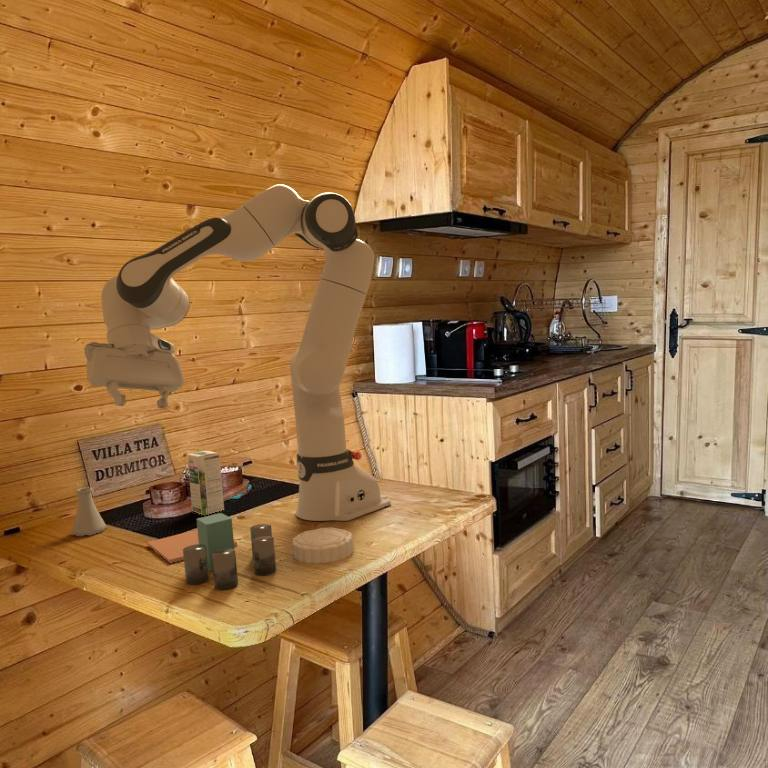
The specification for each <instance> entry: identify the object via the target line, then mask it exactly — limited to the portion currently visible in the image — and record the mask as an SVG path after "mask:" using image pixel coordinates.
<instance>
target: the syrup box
mask: <svg viewBox="0 0 768 768" xmlns="http://www.w3.org/2000/svg"><path fill="white" fill-rule="evenodd" d="M187 465H188V476H189V486H190V487H189V489H190V500H191V509H192V508H193V511H194V512H196V513H198V514H197V515H200V514H201V515H200V516H203V515H204V516H203V517H206V515H208V516H210V515H209V514H211V515H213V514H212V513H214V514H216V513H215V512H217V513H220V512H223V511H225V503H224V500H223V493H224V491H223V478H222V466H221V454H220V452H216V451H215V452H214V451H209V450H200V451H199V450H198V451H194V452H191V453H189V454H187ZM222 510H223V511H222ZM219 511H220V512H219ZM196 513H195V514H196Z"/></svg>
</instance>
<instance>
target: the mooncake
mask: <svg viewBox="0 0 768 768" xmlns="http://www.w3.org/2000/svg"><path fill="white" fill-rule="evenodd" d="M354 545H355V542H354V535H353V534H352V533H351V532H350V531H348V530H346V529H343V528H342V529H341V528H336V527H331V526H330V527H319V528H316V529H310V530H305V531H303V532H300V533H298V534H297V535H296V536H295V537H293V538H292V540H291V551H292V552H291V553H292V557H293V559H294V560H297V561H298V562H302V563H303V562H304V563H305V564H313V565H314V564H316V565H317V564H328V563H330V562H331V563H334V562H335V563H336V562H338V561H340V560H344V559H345V558H347V557H350V556H351V554H352V553H354V551H355V546H354Z"/></svg>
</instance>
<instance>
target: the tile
mask: <svg viewBox="0 0 768 768" xmlns="http://www.w3.org/2000/svg"><path fill="white" fill-rule="evenodd" d="M197 544H199V540H198V530H197V529H196V530H191V531H186V532H183V533H179V534H174V535H170V536H167V537H162V538H159V539H155V540H150V541H147V542H146V545H149V546H150V547H151V548H152V549H154V550H155V551H156V552H157V553H158V554H160V555H161V556H162V557H163V558H164V559H166V560H167V561H168V562H169V563H171V564H174V563H173V562H175V563H178V562H177V561H179V562H182V561H184V556H183V549H184V548H185V547H187V546H191V545H197ZM237 546H238V542H237V541H236V540H234V547H237ZM151 548H150V549H151ZM152 549H151V550H152ZM156 552H155V553H156ZM157 553H156V554H157ZM158 554H157V555H158ZM161 556H160V557H161ZM162 557H161V558H162ZM163 558H162V559H163ZM164 559H163V560H164ZM166 560H165V561H166ZM181 560H182V561H181ZM167 561H166V562H167ZM168 562H167V563H168ZM169 563H168V564H169Z"/></svg>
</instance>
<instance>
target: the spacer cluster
mask: <svg viewBox="0 0 768 768" xmlns="http://www.w3.org/2000/svg"><path fill="white" fill-rule="evenodd" d="M249 529H250V530H249V531H250V541H251V551H252V552H251V554H252V563H253V564H252V565H253V573H254V575H256V576H259V577H262V576H270V575H272V574H274V573H276V572H277V565H276V564H277V562H276V551H275V538H274V537H273V532H272V525H271V524H269V523H260V524H254V525H252V526H250V528H249ZM234 549H235V548H234ZM234 549H229V548H227V549H220V550H216V551H214V552H213V553H212V562H213V571H212V572H213V580H214V581H213V583H214V588H215V589H216V590H217V591H227V590H232V589H234V588H236V587H237V586H238V585H239V578H238V569H237V558H236V557H237V556H236V550H234ZM183 556H184V560H183V563H184V565H183V566H184V575H185V583H186V585H191V586H196V585H201V584H204V583H207V582H208V581H209V579H210V576H209V570H208V563H207V553H206V546H205V545H202V544H197V545H191V546H187V547H185V548H184V549H183Z"/></svg>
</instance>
